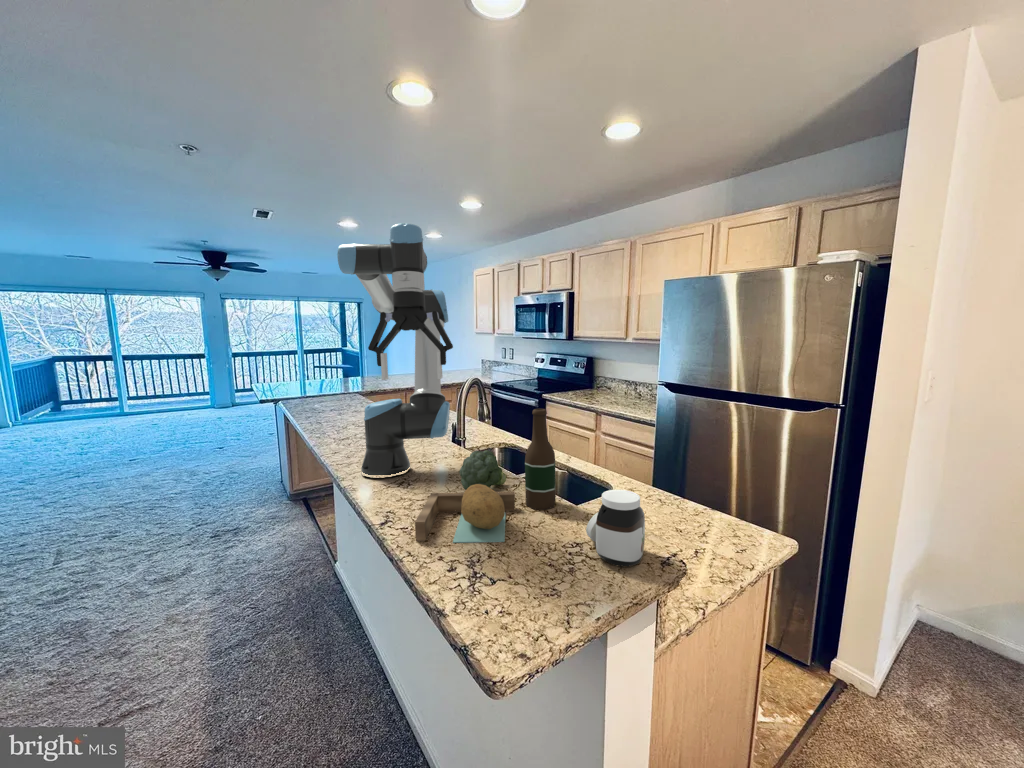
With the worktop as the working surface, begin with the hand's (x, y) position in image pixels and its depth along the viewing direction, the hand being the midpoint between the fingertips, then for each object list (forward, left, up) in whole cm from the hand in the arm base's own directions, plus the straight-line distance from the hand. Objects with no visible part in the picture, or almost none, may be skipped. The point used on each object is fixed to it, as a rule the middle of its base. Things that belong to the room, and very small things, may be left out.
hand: (412, 379), depth 99 cm
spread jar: (+26, +43, -32) cm, 60 cm away
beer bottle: (+2, +31, -32) cm, 45 cm away
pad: (+14, +17, -32) cm, 39 cm away
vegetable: (-9, +16, -32) cm, 37 cm away
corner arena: (+12, +14, -32) cm, 37 cm away
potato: (+14, +18, -32) cm, 39 cm away
